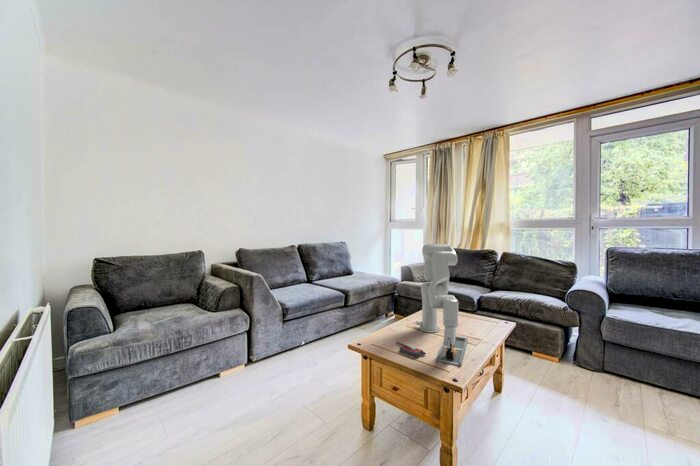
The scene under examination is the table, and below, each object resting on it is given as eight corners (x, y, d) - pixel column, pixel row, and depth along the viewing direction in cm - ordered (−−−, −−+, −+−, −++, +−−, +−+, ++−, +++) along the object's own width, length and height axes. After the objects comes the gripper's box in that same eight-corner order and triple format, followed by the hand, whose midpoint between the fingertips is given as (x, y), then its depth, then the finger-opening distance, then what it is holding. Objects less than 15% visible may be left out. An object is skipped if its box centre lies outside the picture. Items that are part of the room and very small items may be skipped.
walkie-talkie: (427, 355, 156) (397, 344, 170) (428, 346, 156) (397, 336, 170) (419, 360, 149) (388, 348, 164) (419, 351, 149) (388, 341, 163)
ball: (443, 358, 149) (443, 347, 149) (445, 354, 155) (445, 343, 155) (455, 361, 147) (455, 349, 146) (457, 356, 152) (457, 345, 152)
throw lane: (436, 361, 147) (436, 357, 147) (446, 337, 178) (446, 334, 178) (461, 366, 142) (461, 362, 142) (467, 341, 173) (467, 338, 173)
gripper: (445, 316, 160) (445, 348, 160) (440, 326, 144) (440, 361, 145) (460, 318, 156) (459, 351, 157) (456, 328, 141) (455, 365, 141)
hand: (450, 356), depth 151 cm, fingers closed on ball, 5 cm apart
